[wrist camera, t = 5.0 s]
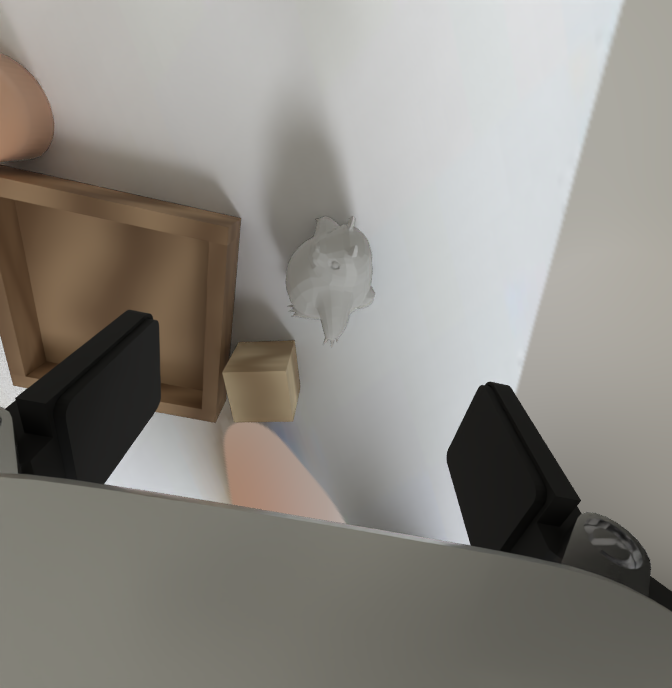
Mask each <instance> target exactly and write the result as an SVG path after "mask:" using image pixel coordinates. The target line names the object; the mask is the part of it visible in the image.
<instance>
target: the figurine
mask: <svg viewBox="0 0 672 688" xmlns="http://www.w3.org/2000/svg"><path fill="white" fill-rule="evenodd" d="M315 220H317V226H316V230H315V233H314V236H313V238H311V239H309V240H307V241H305V242H304V243H303V244H302V245H301V246H300V247H299V248H298V249H297V250H296V251H295V252H294V254H293V256H292V257H291V259H290V261H289V263H288V267H287V271H286V289H287V293H288V296H289V299H290V301H291V303H292V304H293V305H289V306H288V307H293V310H290V311H288V312H295V314H294V315H293V316H299V317H303V318H310V319H321V322H322V327H323V331H324V334H325V340H324V343H323V345H324V344H325V343H326V342H327V340H330V342H331V348H332V345H333V342H334V340H335V339H336V342H337V341H338V337H339V336H340V335H341V334H342V333H343V331H344V329H345V328H346V325H347V323H348V320H349V316H350V314H351V313H352V312H353V311H354V310H355V309H356V308H357V309H361V308H365V307H368V306H369V305H370V304H372V302H373V300H374V297H375V292H374V290H373V288H372V286H371V280H372V270H373V268H372V253H371V249H370V245H369V242H368V240H367V238H366V237H365V236H364V234H363V233H362V232H361V231H360V230H358V229H357V228H355V227H354V224H355V217H354V216H352V217H350V218H349V220H348V224H347V225H341V226H339V225H338V224H337V223H336V222H335V221H334V220H333V219H331V218H330V217H327V216H324V217H321V218H320V219H315ZM291 317H292V316H291Z"/></svg>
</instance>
